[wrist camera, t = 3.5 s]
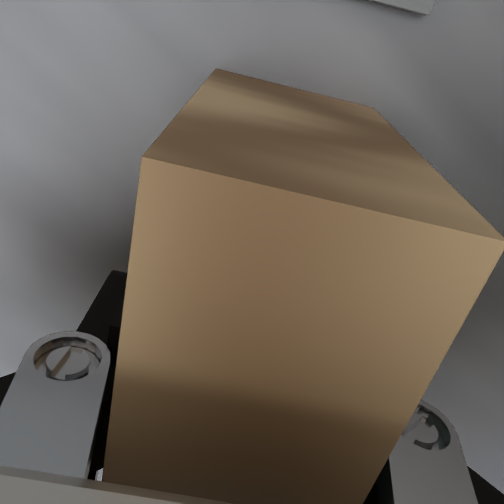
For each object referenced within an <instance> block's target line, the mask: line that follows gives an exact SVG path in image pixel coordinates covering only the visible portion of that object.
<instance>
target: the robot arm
mask: <svg viewBox="0 0 504 504" xmlns="http://www.w3.org/2000/svg"><path fill="white" fill-rule="evenodd" d="M126 281H127V273H124V272H119V271H112V272H111V273H110V274H109V276H108V278H107V279H106V281H105V283H104V285H103V286H102V288H101V290H100V291H99V293H98V295H97V296H96V298H95V300H94V302H93V303H92V305H91V307H90V308H89V310H88V312H87V314H86V315H85V317H84V319H83V320H82V322H81V324H80V326H79V327H78V329H77V331H64V332H59V333H53V334H50V335H48V336H45V337H43V338H40V339H39V340H37V341H36V342H35V343H33V344H32V345H31V346H30V347H29V349H28V350H27V351H26V353H25V355H24V357H23V359H22V361H21V363H20V365H19V368H18V370H17V372H15V373H12V374H9V375H6V376H3V377H0V504H233V503H228V502H222V501H216V500H210V499H204V498H198V497H192V496H186V495H180V494H174V493H168V492H162V491H156V490H150V489H144V488H138V487H132V486H126V485H120V484H114V483H108V482H102V481H97V475H98V470H100V469H101V468H103V467H104V460H105V452H106V443H107V435H108V427H109V419H110V411H111V403H112V395H113V387H114V379H115V370H116V362H117V354H118V346H119V338H120V330H121V322H122V314H123V306H124V297H125V289H126ZM363 504H504V494H502V493H501V492H500V491H498V490H497V489H496V488H495V487H493V486H492V485H491V484H490V483H488V482H487V481H486V480H485V479H483V478H482V477H481V476H480V475H478V474H477V473H476V472H475V471H473V470H472V469H471V468H470V467H468V466H467V464H466V461H465V458H464V454H463V451H462V447H461V444H460V441H459V437H458V435H457V432H456V430H455V428H454V426H453V425H452V424H451V422H450V421H449V420H448V419H447V417H446V416H445V415H443V414H442V413H441V412H440V411H439V410H438V409H436V408H435V407H433V406H432V405H430V404H428V403H427V402H424V401H422V400H420V402H419V404H418V405H417V407H416V409H415V411H414V413H413V414H412V416H411V418H410V420H409V422H408V423H407V425H406V427H405V429H404V431H403V432H402V434H401V436H400V438H399V440H398V441H397V443H396V445H395V447H394V449H393V450H392V452H391V454H390V456H389V458H388V459H387V461H386V463H385V465H384V467H383V468H382V470H381V472H380V474H379V476H378V477H377V479H376V481H375V483H374V485H373V486H372V488H371V490H370V492H369V494H368V495H367V497H366V499H365V501H364V503H363Z"/></svg>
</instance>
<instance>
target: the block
mask: <svg viewBox="0 0 504 504" xmlns="http://www.w3.org/2000/svg"><path fill="white" fill-rule="evenodd" d="M503 251H504V237H503V236H502V235H501V234H500V233H499V232H498V231H497V230H496V229H495V228H494V227H493V226H492V225H491V224H490V223H489V222H488V221H487V220H486V219H485V218H484V217H483V216H482V215H481V214H480V213H478V212H477V211H476V210H475V209H474V208H473V207H472V206H471V205H470V204H469V203H468V202H467V201H466V200H465V199H464V198H463V197H462V196H461V195H460V194H459V193H458V192H457V191H456V190H455V189H454V188H453V187H452V186H451V185H450V184H449V183H448V182H447V181H446V180H445V179H444V178H443V177H442V176H441V175H440V174H439V173H438V172H437V171H436V170H435V169H434V168H433V167H432V166H431V165H430V164H429V163H428V162H427V161H426V160H425V159H424V158H423V157H422V156H421V155H420V154H419V153H418V152H417V151H416V150H415V149H414V148H413V147H412V146H411V145H410V144H409V143H408V142H407V141H406V140H405V139H404V138H403V137H402V136H401V135H400V134H399V133H398V132H397V131H396V130H395V129H394V128H393V127H392V126H391V125H390V124H389V123H388V122H387V121H386V120H385V119H384V118H383V117H382V116H381V115H380V114H379V113H378V112H377V111H376V110H375V109H374V108H371V107H367V106H363V105H359V104H355V103H352V102H348V101H344V100H340V99H336V98H332V97H328V96H324V95H320V94H316V93H312V92H308V91H304V90H300V89H296V88H292V87H288V86H284V85H280V84H276V83H272V82H268V81H264V80H260V79H256V78H252V77H248V76H244V75H240V74H236V73H232V72H228V71H224V70H220V69H215V70H214V71H213V73H212V74H211V75H210V76H209V77H208V78H207V80H206V81H205V82H204V83H203V84H202V86H201V87H200V88H199V89H198V90H197V92H196V93H195V94H194V95H193V96H192V98H191V99H190V100H189V101H188V102H187V103H186V105H185V106H184V107H183V108H182V109H181V111H180V112H179V113H178V114H177V115H176V117H175V118H174V119H173V120H172V121H171V122H170V124H169V125H168V126H167V127H166V128H165V130H164V131H163V132H162V133H161V134H160V136H159V137H158V138H157V139H156V140H155V142H154V143H153V144H152V145H151V146H150V147H149V149H148V150H147V151H146V152H145V153H144V155H143V156H142V159H141V168H140V176H139V184H138V192H137V200H136V208H135V216H134V224H133V232H132V241H131V249H130V257H129V265H128V273H127V281H126V289H125V297H124V306H123V314H122V322H121V330H120V338H119V346H118V354H117V362H116V370H115V379H114V387H113V395H112V403H111V411H110V419H109V427H108V435H107V443H106V452H105V460H104V468H103V476H102V482H108V483H114V484H120V485H126V486H132V487H138V488H144V489H150V490H156V491H162V492H168V493H174V494H180V495H186V496H192V497H198V498H204V499H210V500H216V501H222V502H228V503H233V504H363V503H364V501H365V499H366V497H367V495H368V494H369V492H370V490H371V488H372V486H373V485H374V483H375V481H376V479H377V477H378V476H379V474H380V472H381V470H382V468H383V467H384V465H385V463H386V461H387V459H388V458H389V456H390V454H391V452H392V450H393V449H394V447H395V445H396V443H397V441H398V440H399V438H400V436H401V434H402V432H403V431H404V429H405V427H406V425H407V423H408V422H409V420H410V418H411V416H412V414H413V413H414V411H415V409H416V407H417V405H418V404H419V402H420V400H421V398H422V396H423V395H424V393H425V391H426V389H427V388H428V386H429V384H430V382H431V380H432V379H433V377H434V375H435V373H436V371H437V370H438V368H439V366H440V364H441V362H442V361H443V359H444V357H445V355H446V353H447V352H448V350H449V348H450V346H451V344H452V343H453V341H454V339H455V337H456V335H457V334H458V332H459V330H460V328H461V326H462V325H463V323H464V321H465V319H466V317H467V316H468V314H469V312H470V310H471V308H472V307H473V305H474V303H475V301H476V299H477V298H478V296H479V294H480V292H481V290H482V289H483V287H484V285H485V283H486V281H487V280H488V278H489V276H490V274H491V272H492V271H493V269H494V267H495V265H496V263H497V262H498V260H499V258H500V256H501V254H502V253H503Z"/></svg>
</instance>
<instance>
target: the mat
mask: <svg viewBox="0 0 504 504" xmlns="http://www.w3.org/2000/svg"><path fill="white" fill-rule="evenodd" d="M369 1H372V2H376V3H380V4H384V5H387V6H391V7H395V8H399V9H402V10H406V11H410V12H413V13H417V14H421V15H430V13H431V10H432V8H433V5H434V2H435V0H369Z"/></svg>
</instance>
